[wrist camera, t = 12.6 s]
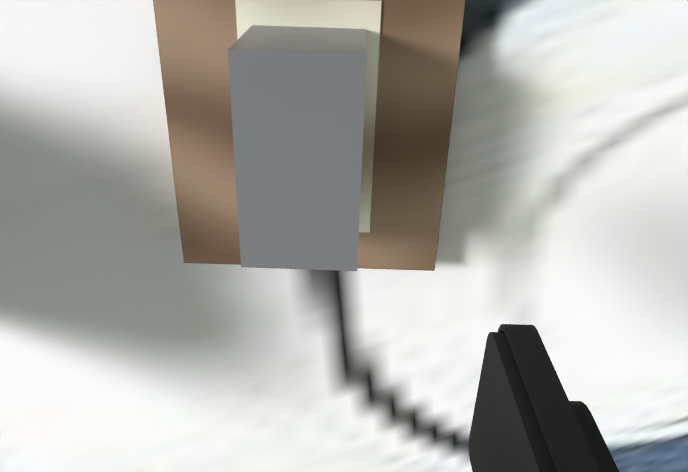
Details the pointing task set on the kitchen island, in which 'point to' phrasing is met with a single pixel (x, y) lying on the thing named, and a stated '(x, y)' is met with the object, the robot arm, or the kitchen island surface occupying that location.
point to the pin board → (379, 117)
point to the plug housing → (298, 145)
